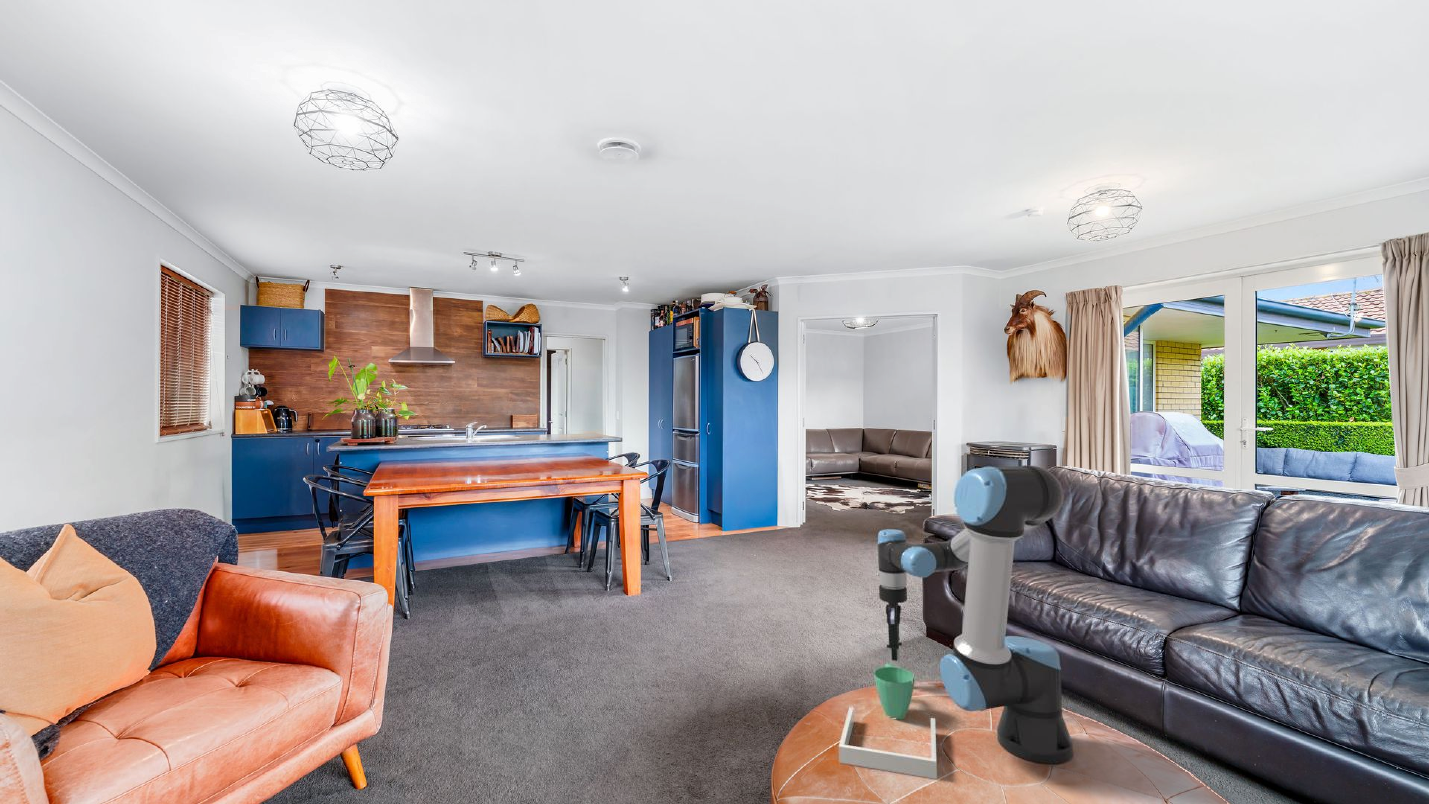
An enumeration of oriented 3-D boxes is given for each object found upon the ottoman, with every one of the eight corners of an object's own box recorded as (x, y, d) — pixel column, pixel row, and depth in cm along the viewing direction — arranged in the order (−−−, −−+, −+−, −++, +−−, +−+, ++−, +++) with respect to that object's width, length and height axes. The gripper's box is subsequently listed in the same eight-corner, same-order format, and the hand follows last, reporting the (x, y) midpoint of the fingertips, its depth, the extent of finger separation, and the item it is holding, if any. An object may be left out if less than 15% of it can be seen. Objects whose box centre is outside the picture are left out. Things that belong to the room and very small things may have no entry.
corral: (935, 733, 140) (935, 718, 140) (936, 779, 122) (936, 761, 122) (849, 721, 147) (849, 706, 147) (839, 762, 129) (838, 746, 129)
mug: (919, 725, 144) (918, 683, 145) (878, 723, 145) (877, 682, 146) (907, 697, 159) (906, 660, 159) (870, 696, 160) (869, 659, 160)
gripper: (880, 578, 174) (882, 659, 173) (877, 591, 161) (879, 678, 161) (907, 580, 171) (909, 662, 171) (906, 593, 159) (908, 682, 158)
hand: (894, 670), depth 166 cm, fingers closed
